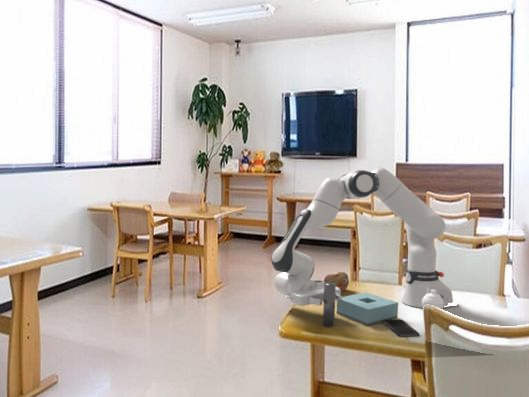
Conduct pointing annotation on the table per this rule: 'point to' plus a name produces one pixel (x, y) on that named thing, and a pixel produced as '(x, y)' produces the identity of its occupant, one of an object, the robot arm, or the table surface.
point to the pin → (329, 304)
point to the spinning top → (433, 299)
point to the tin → (338, 280)
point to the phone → (400, 328)
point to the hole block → (367, 308)
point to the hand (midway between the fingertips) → (330, 300)
